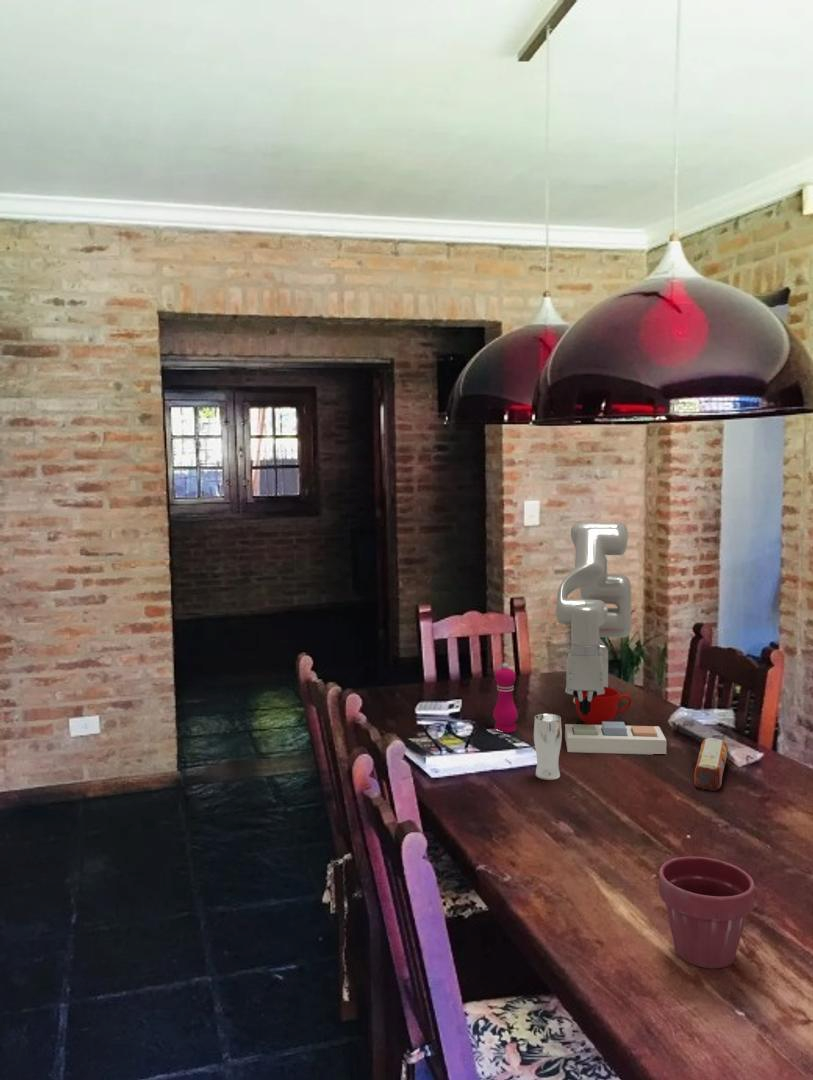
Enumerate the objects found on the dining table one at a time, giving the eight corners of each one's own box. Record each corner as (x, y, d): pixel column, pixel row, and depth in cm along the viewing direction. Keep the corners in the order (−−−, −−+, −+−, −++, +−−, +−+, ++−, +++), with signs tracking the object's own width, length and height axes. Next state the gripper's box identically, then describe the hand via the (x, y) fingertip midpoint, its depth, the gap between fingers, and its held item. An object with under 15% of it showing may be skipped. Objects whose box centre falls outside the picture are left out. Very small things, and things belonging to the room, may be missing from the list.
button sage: (572, 733, 236) (572, 724, 236) (594, 733, 236) (594, 724, 235) (574, 739, 231) (574, 731, 230) (596, 740, 230) (596, 731, 230)
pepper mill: (509, 735, 243) (509, 667, 241) (488, 730, 247) (488, 664, 246) (522, 728, 249) (522, 662, 247) (501, 724, 253) (500, 659, 251)
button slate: (601, 730, 235) (602, 721, 235) (623, 730, 235) (623, 721, 234) (604, 736, 229) (604, 728, 229) (626, 737, 229) (626, 728, 228)
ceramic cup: (636, 730, 246) (637, 697, 245) (578, 731, 246) (578, 697, 245) (626, 717, 258) (626, 685, 258) (570, 717, 259) (571, 686, 258)
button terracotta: (631, 734, 234) (631, 725, 234) (653, 735, 234) (653, 726, 233) (634, 741, 228) (634, 732, 228) (656, 742, 228) (656, 733, 227)
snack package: (721, 793, 199) (722, 765, 198) (692, 789, 201) (692, 762, 201) (727, 764, 218) (728, 738, 217) (700, 760, 221) (701, 735, 220)
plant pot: (723, 924, 142) (724, 851, 141) (771, 973, 128) (773, 893, 127) (643, 932, 140) (644, 858, 139) (683, 983, 126) (685, 902, 125)
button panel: (565, 737, 240) (565, 724, 240) (658, 740, 237) (658, 726, 236) (567, 752, 228) (567, 737, 228) (666, 754, 225) (666, 740, 224)
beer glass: (529, 778, 210) (529, 719, 208) (539, 769, 216) (538, 712, 214) (556, 782, 206) (556, 723, 205) (565, 773, 213) (565, 715, 211)
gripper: (611, 646, 234) (610, 710, 236) (556, 646, 236) (556, 709, 238) (614, 653, 226) (613, 719, 229) (558, 652, 228) (558, 717, 231)
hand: (584, 713), depth 233 cm, fingers closed
